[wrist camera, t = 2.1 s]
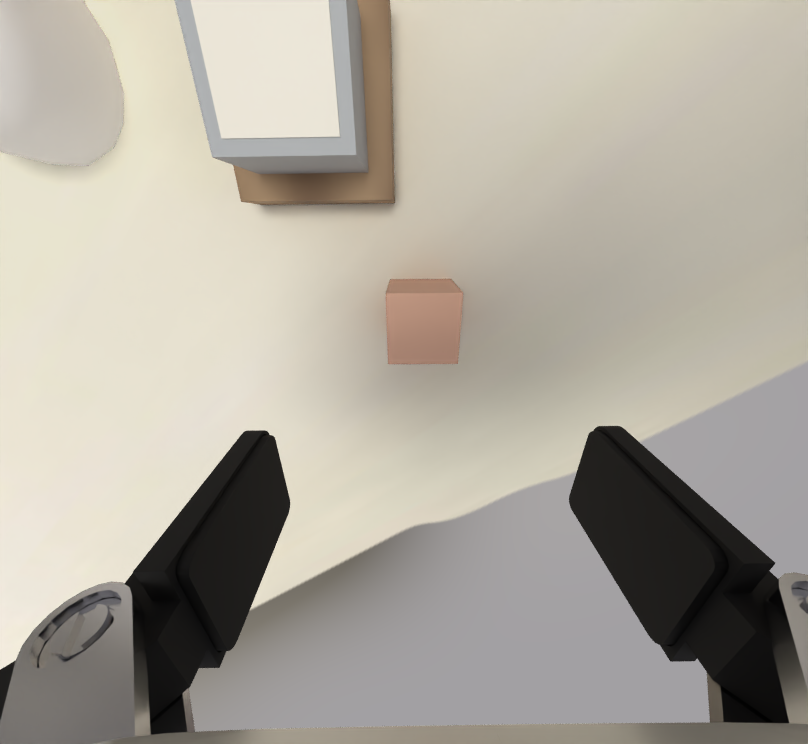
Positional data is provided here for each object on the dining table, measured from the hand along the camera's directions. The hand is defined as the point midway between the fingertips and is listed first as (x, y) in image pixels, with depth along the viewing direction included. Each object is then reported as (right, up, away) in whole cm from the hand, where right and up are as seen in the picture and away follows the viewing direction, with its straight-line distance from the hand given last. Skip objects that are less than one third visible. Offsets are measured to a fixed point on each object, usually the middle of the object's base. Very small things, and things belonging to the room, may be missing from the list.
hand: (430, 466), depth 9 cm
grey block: (-7, +19, +8) cm, 21 cm away
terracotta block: (+1, +8, +17) cm, 19 cm away
